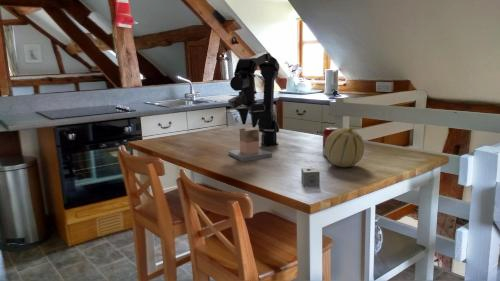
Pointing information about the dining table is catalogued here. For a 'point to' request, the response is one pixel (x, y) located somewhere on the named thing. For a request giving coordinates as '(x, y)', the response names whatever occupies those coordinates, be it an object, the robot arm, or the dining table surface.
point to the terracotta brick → (249, 147)
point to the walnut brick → (249, 135)
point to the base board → (249, 155)
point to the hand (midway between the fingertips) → (248, 125)
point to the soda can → (325, 135)
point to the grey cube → (310, 177)
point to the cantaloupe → (344, 147)
